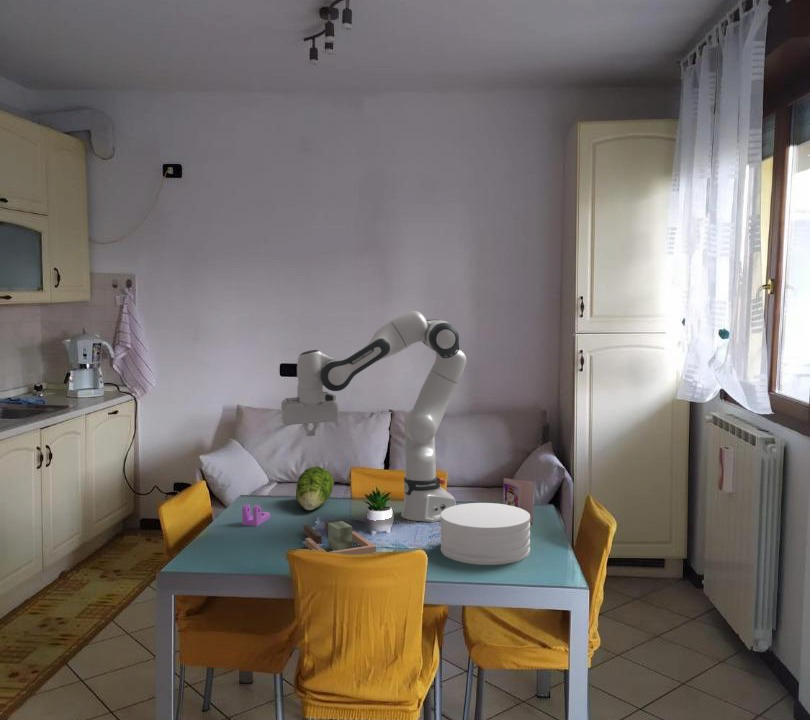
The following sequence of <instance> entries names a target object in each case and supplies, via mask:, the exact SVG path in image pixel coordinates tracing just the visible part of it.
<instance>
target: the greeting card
mask: <svg viewBox="0 0 810 720" xmlns="http://www.w3.org/2000/svg"><path fill="white" fill-rule="evenodd" d="M502 484H503V487H502V489H503V494H502V495H503V497H502V498H503V499H502V500H503V503H502V504H504V505H510V506H514V507H518V508H521V509H523V510H525V511H527V512H528V513H529V514H530V525H531V524H532V525H533V524H534V481H530V480H522V479H515V478H514V479H513V478H505V477H503V483H502Z"/></svg>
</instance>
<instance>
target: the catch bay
mask: <svg viewBox="0 0 810 720" xmlns="http://www.w3.org/2000/svg"><path fill="white" fill-rule="evenodd" d="M304 539H305V541H304V543H305V547H306V548H307V547H308V548H309V549H308V548H307V549H308V550H310V549H316V550H323V551H326V550H325V549H324V548H322V546H320V544H317V543H316V542H314V541H313V540H312V539H311V538H309V537H306V538H304ZM352 540H354V541H355V542H356V543H357V544H356V543H355V542H354V541H353V542H354V543H355V544H356V545H358V544H359V545H360V546H361V547H360V546H359V545H358V546H359V547H352V548H350V549H344V550H337V551H333V550H331V551H330V552H335V553H342V554H366V553H373V552H376V553H377V550H376V548H377V547H376V545H374V544H373V543H372V542H371V541H369V540H368V539H366V538H365V537H364V536H362V535H361V534H360V533H358V532H356V530H352Z"/></svg>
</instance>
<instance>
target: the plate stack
mask: <svg viewBox="0 0 810 720" xmlns="http://www.w3.org/2000/svg"><path fill="white" fill-rule="evenodd" d="M530 538H531V524H530V514H529V513H528V512H527V511H525V510H523V509H521V508H518V507H514V506H510V505H504V504H503V503H496V502H495V503H493V502H472V503H471V502H470V503H460V504H456V505H455V506H452V507H449V508H446V509H444V510H443V511H442V512H441V520H440V551H441V553H442V555H443V556H445V557H446V558H448V559H451V560H453V561H456V562H459V563H464V564H470V565H481V566H482V565H484V566H491V565H494V566H496V565H507V564H512V563H516V562H520V561H522V560H524V559H526V558H527V557H528V556H530V554H531V539H530Z"/></svg>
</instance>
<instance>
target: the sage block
mask: <svg viewBox="0 0 810 720" xmlns="http://www.w3.org/2000/svg"><path fill="white" fill-rule="evenodd" d="M352 531H353V526H352V525H350V524H348V523H346V522H345V521H343V520H342V521H341V520H340V521H335V522H330V523H328V532H327V535H328V536H327V537H328V540H327V541H328V543H327V544H328V547H329V548H331V549H333V550H335V551H337V550H344V549H350V548H353V541H352ZM329 548H328V549H329ZM331 549H330V550H331ZM333 550H332V551H333Z"/></svg>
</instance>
